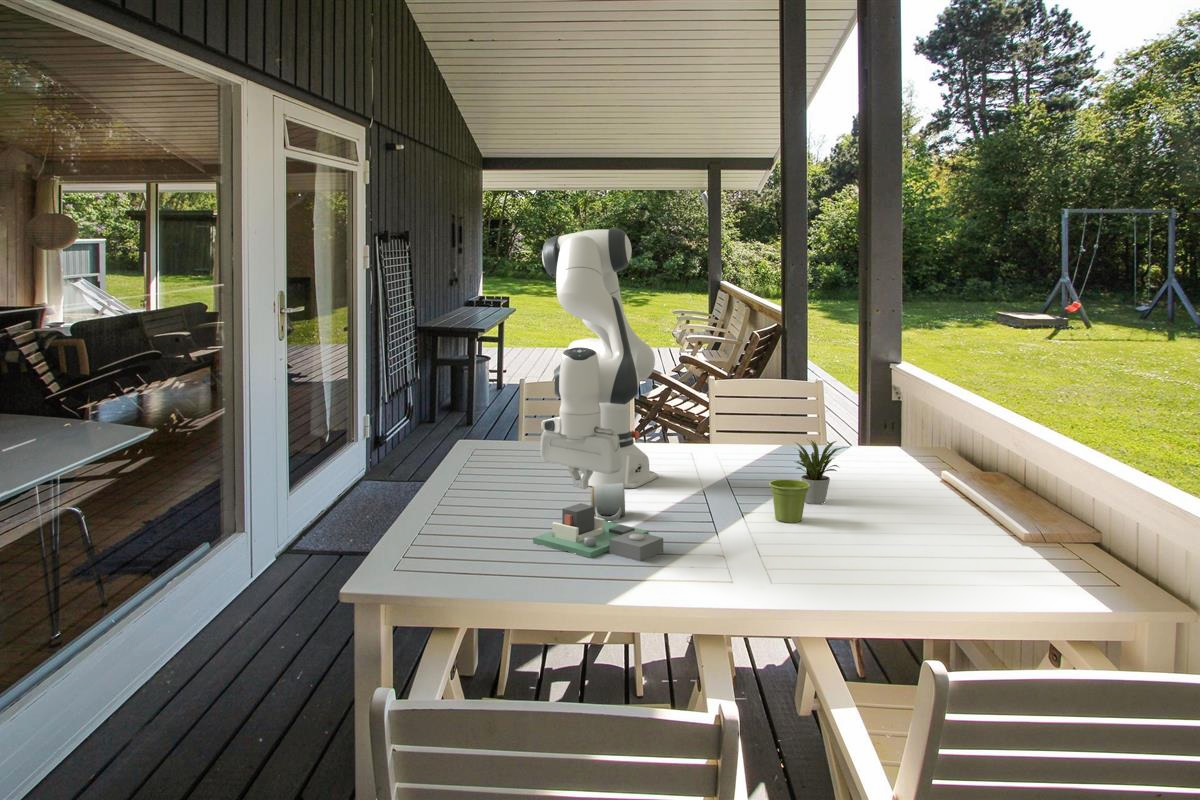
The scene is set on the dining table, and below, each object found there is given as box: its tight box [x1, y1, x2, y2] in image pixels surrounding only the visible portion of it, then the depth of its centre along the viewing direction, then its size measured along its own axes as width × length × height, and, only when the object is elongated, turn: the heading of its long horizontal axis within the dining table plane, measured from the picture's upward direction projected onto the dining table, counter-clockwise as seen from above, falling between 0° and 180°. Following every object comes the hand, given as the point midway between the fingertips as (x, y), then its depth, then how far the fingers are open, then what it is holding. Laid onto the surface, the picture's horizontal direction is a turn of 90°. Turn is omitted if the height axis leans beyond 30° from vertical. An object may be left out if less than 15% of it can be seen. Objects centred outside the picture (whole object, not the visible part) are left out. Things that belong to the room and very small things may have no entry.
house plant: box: [793, 438, 851, 505], centre depth 240 cm, size 14×14×16 cm
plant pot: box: [768, 478, 810, 524], centre depth 224 cm, size 9×9×9 cm
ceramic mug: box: [590, 483, 626, 522], centre depth 226 cm, size 11×8×8 cm
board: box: [532, 516, 650, 559], centre depth 208 cm, size 20×16×4 cm
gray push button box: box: [608, 531, 664, 562], centre depth 199 cm, size 8×8×4 cm
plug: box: [561, 502, 596, 535], centre depth 207 cm, size 7×4×6 cm, turn 140°
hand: (580, 487), depth 207 cm, fingers closed
